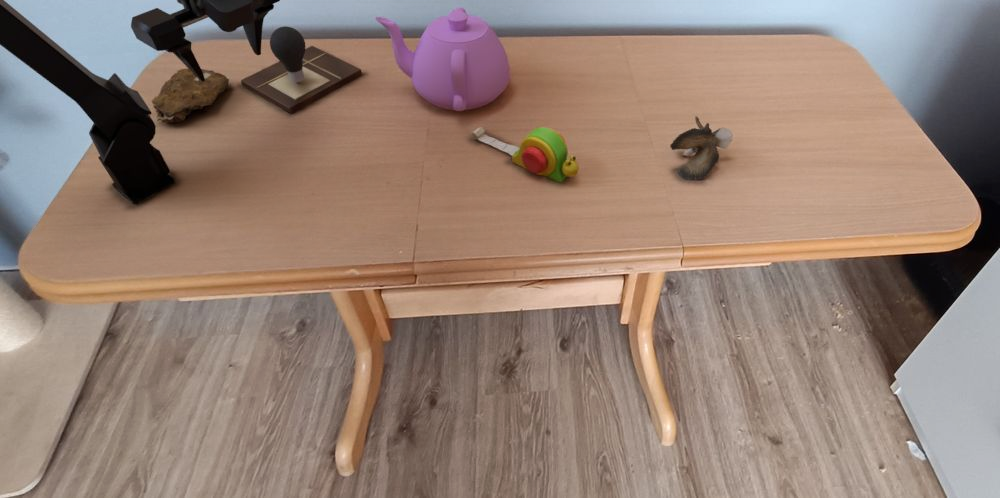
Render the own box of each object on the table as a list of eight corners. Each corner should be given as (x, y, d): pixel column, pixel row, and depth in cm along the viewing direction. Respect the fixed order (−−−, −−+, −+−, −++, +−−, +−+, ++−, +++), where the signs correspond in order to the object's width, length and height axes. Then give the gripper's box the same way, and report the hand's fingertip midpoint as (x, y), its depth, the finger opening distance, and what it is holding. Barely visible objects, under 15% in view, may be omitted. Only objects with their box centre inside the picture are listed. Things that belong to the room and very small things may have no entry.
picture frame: (291, 114, 99) (289, 107, 98) (242, 86, 105) (240, 79, 104) (362, 75, 107) (361, 68, 106) (313, 51, 113) (311, 44, 112)
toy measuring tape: (563, 195, 85) (567, 159, 80) (462, 144, 93) (460, 109, 88) (587, 173, 88) (592, 137, 83) (488, 126, 96) (487, 91, 92)
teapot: (392, 60, 111) (381, -13, 101) (506, 57, 111) (507, -16, 101) (381, 129, 96) (366, 51, 86) (513, 125, 96) (514, 47, 86)
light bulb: (311, 71, 106) (297, 17, 98) (317, 87, 102) (303, 32, 95) (280, 77, 104) (263, 23, 97) (284, 93, 101) (267, 38, 93)
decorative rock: (211, 131, 96) (240, 85, 107) (204, 109, 93) (234, 64, 104) (141, 128, 96) (176, 82, 106) (131, 106, 93) (169, 61, 103)
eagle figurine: (676, 131, 93) (656, 151, 87) (712, 103, 88) (693, 122, 82) (706, 167, 94) (688, 190, 87) (744, 142, 88) (727, 164, 82)
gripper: (151, -3, 64) (204, 116, 76) (289, -54, 74) (318, 58, 86) (102, -29, 69) (159, 87, 81) (237, -74, 79) (271, 35, 90)
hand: (230, 67), depth 84 cm, fingers open, 9 cm apart
